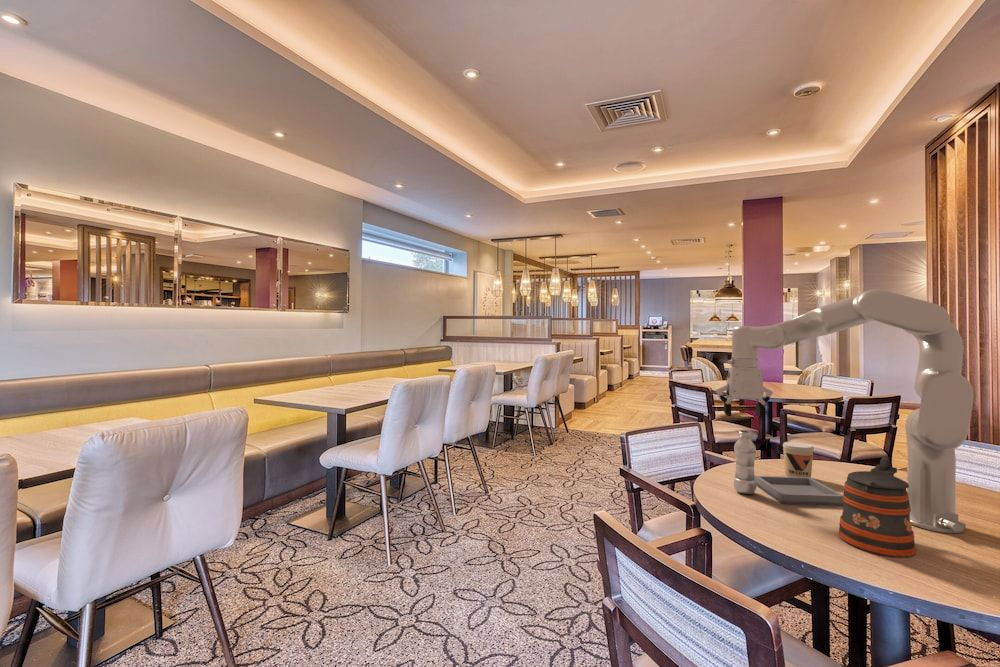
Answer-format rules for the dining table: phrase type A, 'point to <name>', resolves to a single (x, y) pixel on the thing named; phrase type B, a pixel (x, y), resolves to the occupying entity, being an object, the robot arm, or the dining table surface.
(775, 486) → the tray
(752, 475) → the plastic bottle
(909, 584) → the dining table surface
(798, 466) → the coffee cup
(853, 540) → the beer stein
